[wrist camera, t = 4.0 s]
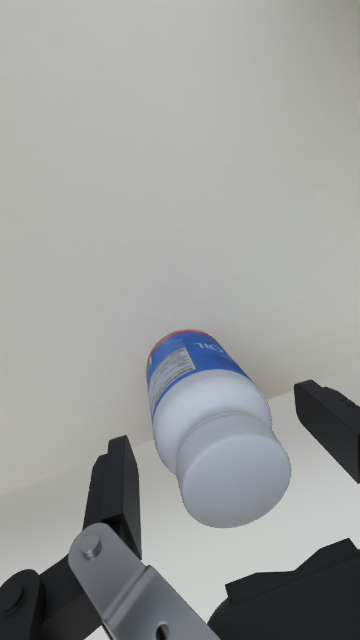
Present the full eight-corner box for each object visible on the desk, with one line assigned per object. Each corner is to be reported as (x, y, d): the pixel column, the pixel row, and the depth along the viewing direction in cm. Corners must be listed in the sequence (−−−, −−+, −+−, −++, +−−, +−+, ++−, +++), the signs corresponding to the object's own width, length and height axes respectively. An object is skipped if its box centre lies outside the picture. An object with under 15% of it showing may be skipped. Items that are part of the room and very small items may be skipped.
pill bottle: (237, 360, 19) (339, 472, 10) (184, 412, 19) (234, 566, 10) (185, 309, 17) (249, 388, 8) (127, 367, 18) (127, 504, 8)
